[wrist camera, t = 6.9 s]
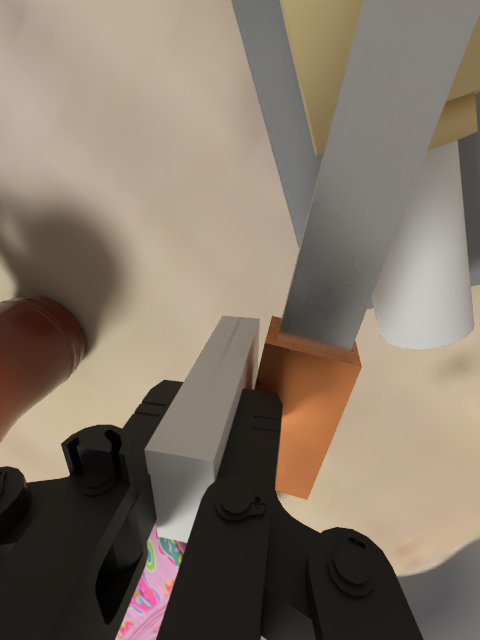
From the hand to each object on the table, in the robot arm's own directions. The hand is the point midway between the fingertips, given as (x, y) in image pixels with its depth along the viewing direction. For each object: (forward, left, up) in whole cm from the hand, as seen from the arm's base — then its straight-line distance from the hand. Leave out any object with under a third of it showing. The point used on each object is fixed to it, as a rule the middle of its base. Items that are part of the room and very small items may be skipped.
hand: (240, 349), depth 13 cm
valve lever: (-3, +4, +1) cm, 5 cm away
